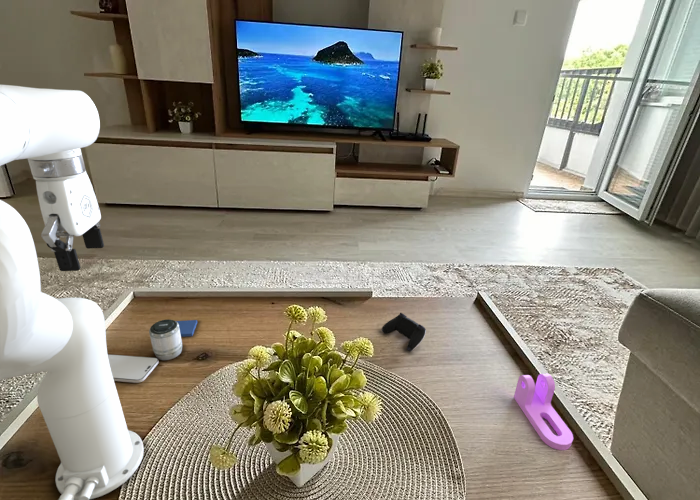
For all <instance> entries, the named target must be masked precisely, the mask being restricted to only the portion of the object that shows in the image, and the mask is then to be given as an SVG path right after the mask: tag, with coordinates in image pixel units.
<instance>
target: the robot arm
mask: <svg viewBox="0 0 700 500" xmlns="http://www.w3.org/2000/svg"><path fill="white" fill-rule="evenodd" d="M99 115H100V114H99V111H98V109H97V107H96V105H95V103H94V101H93V100H92V99H91V97H90V96H89V95H88V94H87V93H86V92H84V91H83V90H79V89H74V90H73V89H56V88H37V87H29V86H22V85H21V86H20V85H11V84H0V167H1V166H3V165H6V164H8V163H11V162H13V161H18V160H25V159H27V161H28V164H29V169H30V171H31V175H32V178H33V180H35V186H36V194H37V198H38V204H39V209H40V212H41V216H42V219H43V223H44V227H43V229H42V231H41V234H40V237H41V238H42V240H43V241H44V243H46V246H47V247H48V248H49V249H50V251H51V252H53V253H54V257H55V259H56V264H57V266H58V270H59V271H60V272H78V271H80V270H81V264H80V261H79V256H78V254H77V249H76V248H73V245H74V237H82V239H83V243H84V247H85V248H86V249H103V248H104V247H105V243H104V240H103V239H104V238H103V236H102V231H101V228H100V227H101V222H100V220H101V219H102V215H101V210H100V207H99V203H98V199H97V196H96V194H95V190H94V188H93V187H94V186H93V184H92V182H91V179H90V178H89V175H88V172H87V170H86V165H85V161H84V158H83V157H84V156H83V153H82V148H87V147H89V146H91V145H92V144H93V143H95V142H96V141H97V139H98V137H99V134H100V129H101V122H100V116H99ZM61 239H65V241H63V240H61ZM39 266H40V265H39V261H38V254H37V251H36V246H35V242H34V239H33V234H32V233H31V230H30V227H29V226H28V224H27V222H26V221H25V219H24V218H23V216H22V215H21V214H20V213H19V211H17V209H16V208H14V206H12V205H10V204H9V203H7V202H5V201H4V200H2V199H0V381H3V380H9V379H12V378H16V377H21V376H27V375H34V374H39V373H45V374H44V377H43V378H42V379H41V382H40V383H39V386H38V389H37V394H36V396H37V397H36V398H37V399H36V400H37V404H38V405H37V406H38V407H39V411H40V412H41V415H42V417H43V420H44V422H45V425H46V428H47V431H48V432H49V435H50V438H51V440H52V443H53V445H54V447H55V450H56V453H57V455H58V457H59V460H60V464H59V466H58V468H57V470H56V473H55V478H54V479H55V485H56V488H57V491H58V492H59V494H61V495H60V496H59V498H58V500H94V499H96V498H97V499H98V498H99V497H103V496H104V495H107V494H109V493H111V492H112V491H114V490H116V489H117V488H119V487H121V486H122V485H123V484H125V483H126V482H127V481H128V480H129V479H130V478H131V477H132V476H133V474H134V473H136V471H137V470H138V468H139V466H140V465H141V463H142V460H143V457H144V452H145V449H144V443H143V440H142V438H141V437H140V435H139V434H137V433H136V432H134V431H133V430H129V428H128V426H127V423H126V419H125V415H124V411H123V408H122V404H121V401H120V397H119V393H118V390H117V386H116V383H115V381H114V379H113V376H112V372H111V368H110V364H109V359H108V354H109V353H108V347H107V337H106V336H107V333H106V321H105V315H104V312H103V310H102V309H101V307H100V306H99V305H98V304H97V302H95V301H94V300H91V299H88V298H84V297H60V298H56V297H54V296H51V295H50V294H47V293H45V292H42V287H41V285H42V284H41V273H40V267H39Z"/></svg>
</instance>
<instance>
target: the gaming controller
mask: <svg viewBox="0 0 700 500" xmlns="http://www.w3.org/2000/svg"><path fill="white" fill-rule="evenodd" d="M381 332H382V333H383V335H387V334H388V335H389V334H391V333H393V332H398V333H399V334H401V335H402V336H404V337H405V338H406V339H408V343H407V347H406V350H407V351H408V352H413V351H414V350H415V349H416V348H417V347H419V345H421V343H422V342H423V340H424V339H425V336H426V332H427V329H426V328H425V326H423V325H422V324H419V323H418V322H416V321H415V320H413V319H411V318H409V317H407V315H406V314H405V313H403V312H400V313H399V314H398V315H396V316H395V317H393V318H392V319H390V320H388V321H387V322H385V323H384V324H383V326H382V327H381Z"/></svg>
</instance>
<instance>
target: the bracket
mask: <svg viewBox="0 0 700 500" xmlns="http://www.w3.org/2000/svg"><path fill="white" fill-rule="evenodd" d="M555 389H556V384H555V379H554V378H553V376H552V375H551V374H549V373H539V374H538V375H537V378H536V382H535V380H534V379H533V377H532V375H529V374H522V375H520V376H518V379H517V383H516V387H515V390H514V395H513V399H514V401H515V402H516V403H517V405H518V407H520V409H521V411H522V413H523V414H524V415H525V417H526V418H527V421H529V423H530V424H531V426H532V427H533V429H534V431H535V432H536V433H537V435H538V436H539V438H540V439H541V441H542V442H543V443H544V444H545V445H547V446H548V447H549V448H552V449H554V450H558V451H567V450H568V449H570V448H571V446H572V443H573V441H574V434H573V432H572V431H571V429H570V428H569V427H568V425H567V424H566V423H565V421H564V420H563V418H561V416H560V415H559V414H558V412H557V411H556V410H555V408H554V407H553V405H552V400H553V396H554V393H555ZM544 419H545V420H547V422H548V423H549V425H550V426H551V427H552V429H553V430H554V431H555V433H556V434H554V433H553V431H552V430H551V429H550V427H549V426H548V425H547V423H546V421H545V420H544Z"/></svg>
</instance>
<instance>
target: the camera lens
mask: <svg viewBox="0 0 700 500" xmlns="http://www.w3.org/2000/svg"><path fill="white" fill-rule="evenodd" d="M176 321H177V320H174V319H171V318H170V319H168V318H167V319H162V320H158V321H155V322H154V323H153V324H152V325H151V326H150V328H149V330H148V334H149V338H150V343H151V347H152V352H153V354H154V355H155V358H157V359H158V360H160V361H169V360H172V359H173V360H174V359H175V358H176V357H179V356H180V354H181V353H182V351H183V340H182V337H181V334H180V329H179V324H178V323H177V322H176Z"/></svg>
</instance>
